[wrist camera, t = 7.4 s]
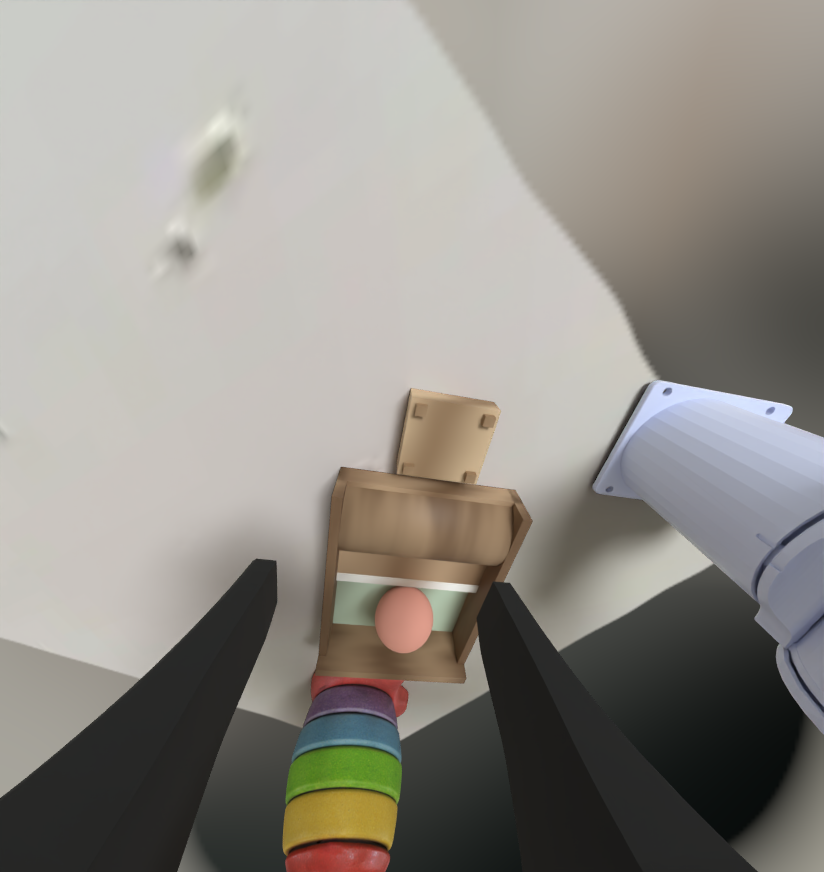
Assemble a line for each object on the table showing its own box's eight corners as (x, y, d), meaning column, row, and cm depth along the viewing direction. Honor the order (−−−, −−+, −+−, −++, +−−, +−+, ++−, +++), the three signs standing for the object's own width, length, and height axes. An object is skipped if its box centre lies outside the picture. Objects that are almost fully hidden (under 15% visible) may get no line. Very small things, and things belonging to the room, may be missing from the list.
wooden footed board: (494, 402, 18) (503, 414, 16) (471, 471, 20) (477, 488, 18) (410, 388, 17) (412, 399, 16) (396, 461, 19) (396, 477, 18)
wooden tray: (502, 466, 23) (539, 533, 17) (450, 602, 31) (463, 683, 25) (348, 444, 22) (328, 508, 16) (332, 592, 30) (314, 675, 23)
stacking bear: (408, 701, 34) (416, 1066, 18) (318, 705, 34) (246, 1081, 18) (408, 647, 29) (419, 1083, 13) (302, 651, 29) (184, 1103, 13)
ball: (427, 669, 22) (422, 612, 26) (444, 631, 20) (436, 576, 24) (367, 663, 21) (371, 605, 25) (379, 624, 19) (382, 568, 23)
